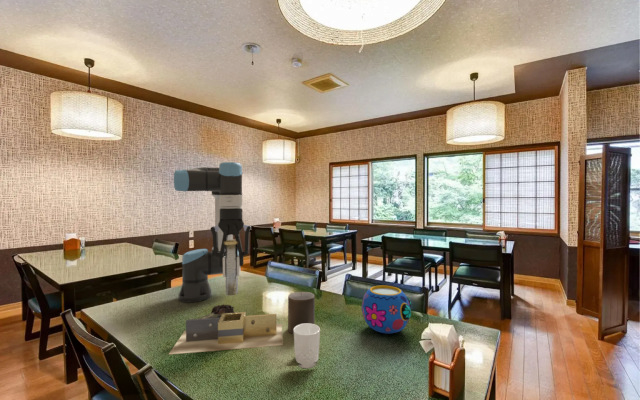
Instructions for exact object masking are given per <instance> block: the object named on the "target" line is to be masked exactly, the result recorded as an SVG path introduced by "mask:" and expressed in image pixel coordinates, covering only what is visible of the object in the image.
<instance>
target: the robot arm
mask: <svg viewBox="0 0 640 400" xmlns="http://www.w3.org/2000/svg"><path fill="white" fill-rule="evenodd" d="M218 166H219V167H206V166H205V167H197V168H191V169H177V170H175V171H174V172H173V188H174V190H175V191H176V192H184V193H185V192H211V196H212V197H213V198H214V225H213V226H211V227H210V231H211V235H212V247H211V251H209V250H208V248H199V249H194V250H189V251H187V252H185V253H183V254H182V261H181V265H182V271H181V272H182V280H181V281H182V284H181V287H180V290H179V292H178V301H179V302H182V303H196V302H201V301H206V300H208V299H209V298H211V297H212V296H213V294H212V293H213V292H212V288H211V286H210V283H209V277H208V276H213V275H222V278H226V258H225V245H223V241H227V240H232V239H236V241H238V245H237V248H238V257H237V276H238V277H240V276H241V267H243V266H244V263H245V262H244V257H245V256H248V255H249V253H250V231H251V229H252V226H251V225H248V224H245V222H244V220H243V208H242V207H243V167H242V164H241V163H239V162H235V161H234V162H232V161H224V162H220V164H219V165H218ZM242 229H243V231H244V233H245V234H244V250H243V246H242V241H241V235H240V232H241V231H242Z"/></svg>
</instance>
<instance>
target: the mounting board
mask: <svg viewBox="0 0 640 400" xmlns="http://www.w3.org/2000/svg"><path fill="white" fill-rule="evenodd" d="M276 328H277V335H267V336H254V337H244V341H243V342H239V343H227V344H218V339H215V340H202V341H189V342H186V330H184V331H183V333H182V334H181V336H180V337H179V339H178V340H177V341H176V343H175V344H174V346H173V347H172V349H170V352H169V353H168V354H167V355H178V354H192V353H201V352H204V353H206V352H214V351H215V352H216V351H225V350H238V349H251V348H263V347H275V346H277V347H278V346H284V342H283V340H284V339H283V324H282V323H276Z"/></svg>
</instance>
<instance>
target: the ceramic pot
mask: <svg viewBox="0 0 640 400" xmlns="http://www.w3.org/2000/svg"><path fill="white" fill-rule="evenodd" d="M361 301H362V302H361V311H362V312H361V314H362V316H363V318H364V321H365V323H366V325H367V326H368V327H369V328H370V329H372V330H374V331H375V332H378V333H381V334H385V335H388V334H390V335H391V334H395V333H398V332H401V331H403V330H404V329H405V328H406V326H407V324H408V323H409V321H410V318H411V316H412V311H411V310H412V309H411V306H412V302H411V299H410V298H409V296H407V295H406V293H404V291H403V290H402V289H400V288H399V287H395V286H392V285H376V286H375V285H374V286H372V287H370V288H369V289H367V291H366V292H365V293H364V295H363V298H362V300H361Z"/></svg>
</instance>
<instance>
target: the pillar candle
mask: <svg viewBox="0 0 640 400" xmlns="http://www.w3.org/2000/svg"><path fill="white" fill-rule="evenodd" d="M315 302H316V301H315V294H314V293H312V292H309V291H296V292H291V293H290V294H288V298H287V333H289V335H292V336H294V327H295V326H297V325H299V324H304V323H311V324H315V316H316V315H315V307H316V306H315ZM315 325H316V324H315Z"/></svg>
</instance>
